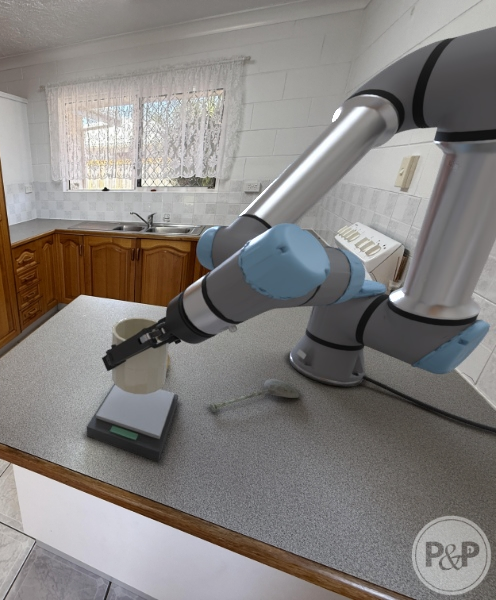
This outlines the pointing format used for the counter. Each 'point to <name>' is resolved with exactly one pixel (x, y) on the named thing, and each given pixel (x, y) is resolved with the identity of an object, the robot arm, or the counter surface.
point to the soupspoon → (265, 392)
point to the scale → (134, 421)
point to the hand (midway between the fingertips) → (129, 354)
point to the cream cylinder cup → (139, 360)
